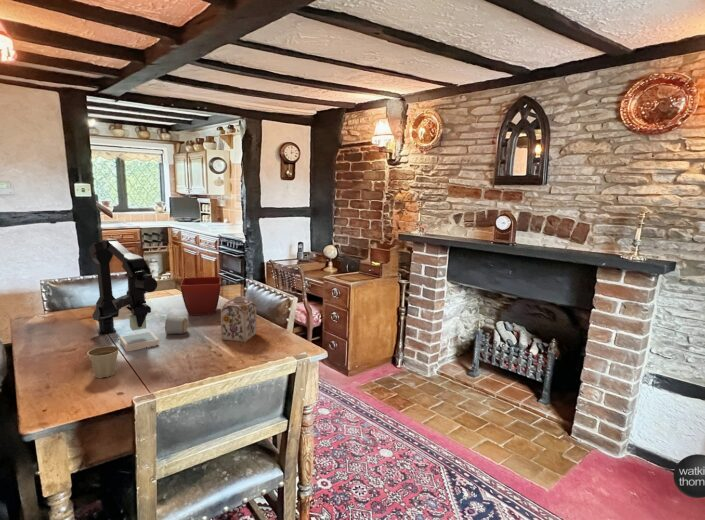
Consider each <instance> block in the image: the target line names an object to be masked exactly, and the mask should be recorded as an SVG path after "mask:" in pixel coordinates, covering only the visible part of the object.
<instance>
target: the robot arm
mask: <svg viewBox="0 0 705 520" xmlns="http://www.w3.org/2000/svg"><path fill="white" fill-rule="evenodd" d="M88 252H89V254H90V258H91V259H92V261H93V262H94V263H95V264H96V272H97V283H98V284H97V285H98V291H99V293H98V294H99V297H98V298H97V301H96V304H95V307H96V308H95V310H94V311H93V313H92V318H93V320H94V321H97V322H98V329H96V330H97V332H98V335H104V334H112V333H116V332H117V330H116V328H115V324H114V323H115V322H114V319H115V318H118V317H119V313H120V310H121V309H123V308H126V309H127V310H129V311H130V314H131V315H135V317H136V321H137V325H138V327H142V324H143V322H144V320H145V318H146V319H147V316H148V314H150V313H152V307H151V306H150V305H148V303H147V300H146V298H145V297H146V296H145V294H147V293H153V292H154V291H156V290H157V288H158V282H157V280H156V278H154V277H153V275H152V272H151V268H150V267H149V265H148V263H147V261H146V260H145V257H142V256H141V255H139V254H135V253H132V252H131V251H130V250H128V249H127V248H126V247H124V245H123V244H121V243H120V242H119V240H118V239H117V238H106V239H104V240H102V241H99V242H97V243H96V242H95V243H92V244H91V245H90V246H89V248H88ZM114 256H115V257H116V258H117V260H119V261H120V262H121V264H122V265H121V267H122V268H123V270H124V271H125V272H126V273H125V274H124V276H125V278H126V277H127V290H126V291H125V292H126V294H124V295H122V296H120V297H116V298H115V297H114V295H113V288H112V287H113V286H112V275H111V265H110V263H111V261H112V259H113V257H114ZM146 292H147V293H146Z"/></svg>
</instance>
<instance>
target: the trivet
mask: <svg viewBox="0 0 705 520" xmlns="http://www.w3.org/2000/svg"><path fill="white" fill-rule="evenodd" d="M119 343H120V345H121V346H122V348H123V349H124V350H125V352H132V351H135V350H141V349H142V350H143V349H147V348H151V346H153V347H156V345H158V346H160V340H159V338H158V337H157V336H156V335H155V334H154V333H153V332H152V331H150V330H149V331H144V332H139V333H135V334H128V335H123V336H119ZM146 347H147V348H146Z"/></svg>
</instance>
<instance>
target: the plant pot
mask: <svg viewBox="0 0 705 520" xmlns="http://www.w3.org/2000/svg"><path fill="white" fill-rule="evenodd" d="M221 280H222V277H221V276H201V277H200V276H197V277H184V278H182V280H181V282H180V285H179V286H180V287H179V288H180V292H181V297H182V300H183V303H184V307H185V309H186V312H187V314H188V316H202V315H203V316H204V315H205V316H206V315H215V314H216V311H217V308H218V304H219V301H220V300H219V299H220V294H221V287H222V286H221V284H222V282H221Z"/></svg>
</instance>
